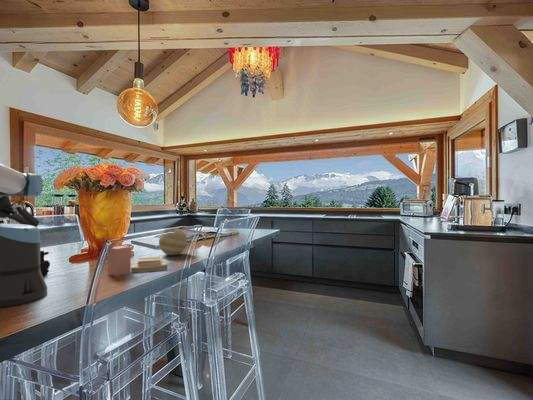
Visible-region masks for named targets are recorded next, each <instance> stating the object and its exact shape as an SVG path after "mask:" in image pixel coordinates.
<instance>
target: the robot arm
mask: <svg viewBox="0 0 533 400" xmlns="http://www.w3.org/2000/svg"><path fill="white" fill-rule="evenodd" d="M43 189H44V180H43V178H42V176H41V175H40V174H37V173H30V172H29V173H27V172H26V173H24V172H20V171H18V170H15V169H14V168H11V167H9V166H7V165H4V164H2V163H0V219H6V218H7V219H9V220H13V221H15V222H17V223H0V308H7V307H12V306H17V305H18V306H19V305H23V304H27V303H30V302H34V301H36V300H40V299H42V298H44V297H45V296H47V295H48V285H47V283H46V280H45V278H44V276H42V274H41V271H40V251H41V243H42V239H41V230H40V229H39V228H38V225H39V224H40V221H39V220H38V219H37V218H36V217H35V216H34V215H32V213H30V211H28V210H27V209H26V208H25V206H24V204H23V203H19V204H18V205H13V204H12V202H11V199H10V197H26V198H27V197H39V196H41V194H42V193H43Z"/></svg>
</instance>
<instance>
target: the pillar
mask: <svg viewBox="0 0 533 400" xmlns="http://www.w3.org/2000/svg"><path fill="white" fill-rule="evenodd" d="M112 247H113V248H112V250H111V251H110V253H109V255H108V254H107V275H110V276H115V277H120V276H123V275H124V276H125V275H127V273H128V274H132V273H131V267H132V264H131V262H132V261H131V260H132V259H131V246H127V245H117V246H112Z"/></svg>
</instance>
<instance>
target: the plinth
mask: <svg viewBox="0 0 533 400" xmlns="http://www.w3.org/2000/svg"><path fill="white" fill-rule="evenodd" d="M137 259H138V260H133V261H132V264H131V273H130V274H133V273H134V274H135V273H145V272H146V273H147V272H155V271H157V270H158V271H167V261H166V258H162V259H161V257H160V255H156V256H143V257H142V256H141V257H138V258H137ZM158 271H157V272H158Z"/></svg>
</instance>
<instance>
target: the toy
mask: <svg viewBox="0 0 533 400" xmlns="http://www.w3.org/2000/svg"><path fill="white" fill-rule="evenodd" d="M49 254H50V253H49V251H45V250H40V271H41V274H42V276H43V277H45V276H47V275H48V274H49V271H50V270H49V268H50V267H51V263H50V261H49V260H48V259H47V260H45V256H47V255H49Z"/></svg>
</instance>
